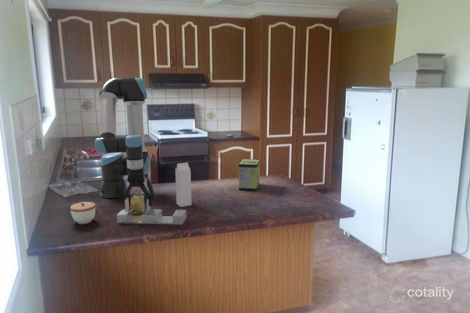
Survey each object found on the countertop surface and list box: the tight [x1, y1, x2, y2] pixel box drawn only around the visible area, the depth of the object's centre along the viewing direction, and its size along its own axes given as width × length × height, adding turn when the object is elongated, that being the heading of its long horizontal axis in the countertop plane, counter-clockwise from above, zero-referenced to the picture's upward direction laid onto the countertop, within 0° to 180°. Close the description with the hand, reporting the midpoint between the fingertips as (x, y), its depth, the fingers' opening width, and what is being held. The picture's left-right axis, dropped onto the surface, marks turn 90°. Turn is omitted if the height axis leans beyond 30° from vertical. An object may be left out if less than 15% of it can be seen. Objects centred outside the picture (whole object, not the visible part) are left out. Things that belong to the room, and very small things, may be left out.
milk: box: [174, 162, 193, 208], centre depth 195 cm, size 6×6×22 cm
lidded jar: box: [69, 201, 97, 225], centre depth 174 cm, size 11×11×9 cm
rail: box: [116, 208, 187, 225], centre depth 175 cm, size 30×8×4 cm, turn 86°
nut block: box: [130, 194, 146, 216], centre depth 185 cm, size 5×5×8 cm
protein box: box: [238, 158, 261, 192], centre depth 226 cm, size 10×16×16 cm
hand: (138, 212), depth 186 cm, fingers open, 10 cm apart
